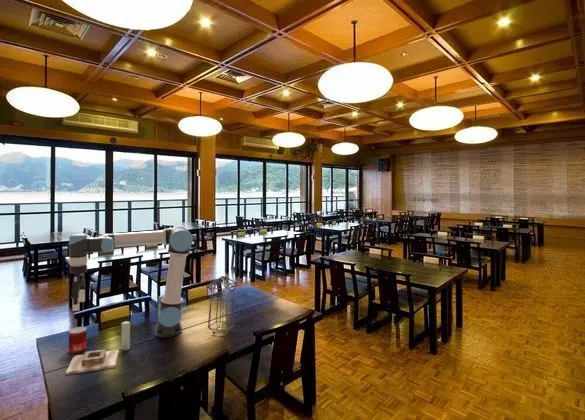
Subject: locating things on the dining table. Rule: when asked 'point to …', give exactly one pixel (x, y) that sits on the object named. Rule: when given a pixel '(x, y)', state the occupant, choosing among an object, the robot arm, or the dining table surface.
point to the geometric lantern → (223, 302)
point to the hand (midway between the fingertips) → (79, 306)
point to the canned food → (77, 339)
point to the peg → (125, 335)
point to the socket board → (104, 365)
